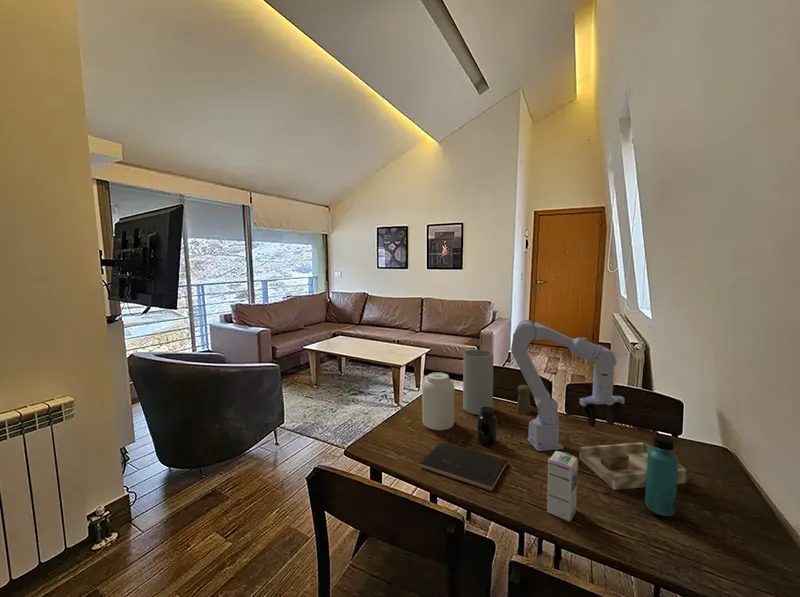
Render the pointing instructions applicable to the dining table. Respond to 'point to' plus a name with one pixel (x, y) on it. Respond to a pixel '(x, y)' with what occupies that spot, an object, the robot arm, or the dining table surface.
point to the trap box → (636, 466)
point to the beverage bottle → (661, 477)
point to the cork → (523, 400)
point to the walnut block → (614, 459)
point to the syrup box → (562, 485)
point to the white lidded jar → (438, 402)
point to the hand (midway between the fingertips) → (600, 425)
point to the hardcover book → (465, 464)
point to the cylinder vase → (477, 380)
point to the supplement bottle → (487, 426)
